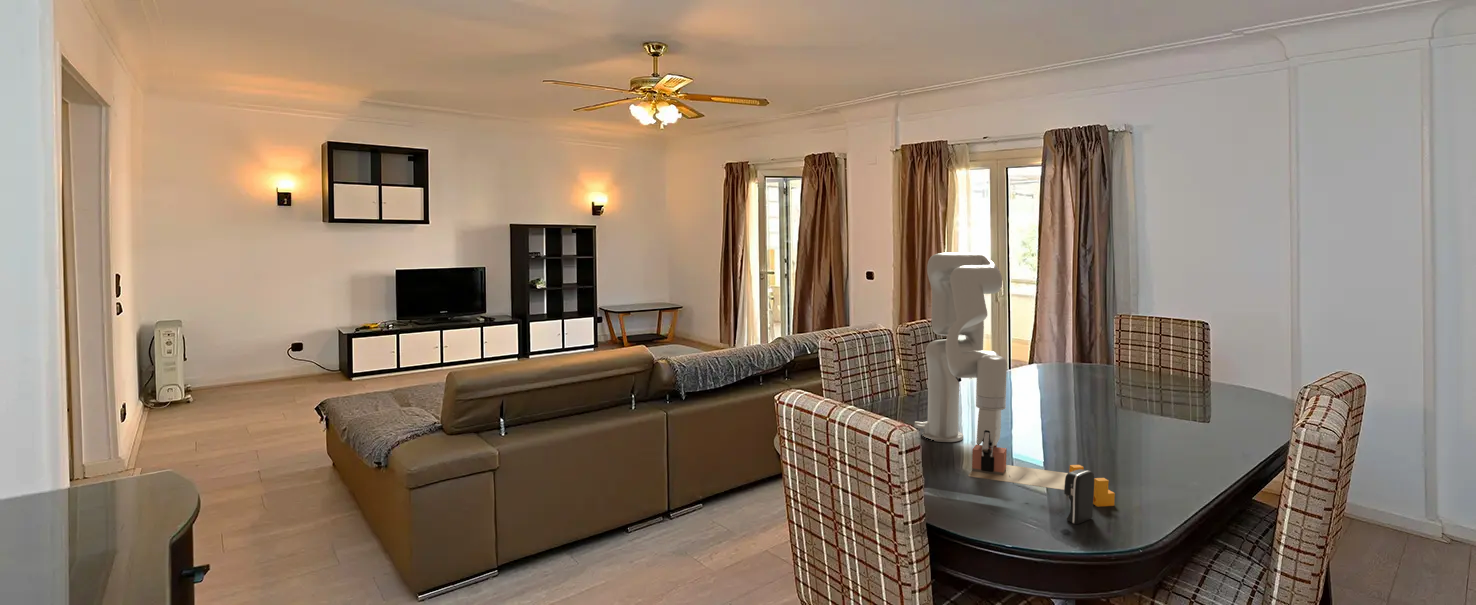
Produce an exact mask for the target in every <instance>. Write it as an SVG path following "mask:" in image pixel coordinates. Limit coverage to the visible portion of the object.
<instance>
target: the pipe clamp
mask: <svg viewBox="0 0 1476 605" xmlns="http://www.w3.org/2000/svg"><path fill="white" fill-rule="evenodd" d="M1078 469H1083V470H1085V469H1084V466H1083V465H1081V464H1070V465H1069V472H1072V471H1075V470H1078ZM1069 472H1068V473H1069ZM1109 483H1110V481H1109V479H1107V478H1105V477H1096V478H1095V477H1094V498H1093V506H1094V505H1095V507H1113V506H1114V507H1115V502H1116V501H1115V499H1116V498H1115V497H1116V493H1115V492H1114V491H1112V490H1111V489H1109Z"/></svg>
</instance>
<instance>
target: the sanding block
mask: <svg viewBox="0 0 1476 605" xmlns="http://www.w3.org/2000/svg"><path fill="white" fill-rule="evenodd" d="M989 449H990V450H991V448H989ZM990 452H991V451H990ZM1007 452H1008V451H1007V448H1006V447H998V446H997V447H994V449H993V457H994V471H993V472H988V471H982V470H981V456H982V444H980V445H978V444H975V445H974V447H973V448H972V451H971V453H972V454H971V457H972V458H971V459H972V460H971V461H972V462H971V464H972V465H971V471H975V472H982V473H989V474H996V475H1004V473H1005V471H1006V465H1007Z"/></svg>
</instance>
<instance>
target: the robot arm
mask: <svg viewBox="0 0 1476 605" xmlns="http://www.w3.org/2000/svg"><path fill="white" fill-rule="evenodd" d="M926 271H927V278H928V282H929V284H930V289H931V316H930V317H931V330H932V332H933V333H934V334H936V335H938V336H946V339H945V338H944V339H935V340H932V341H931V342H929V343H928V344H927V345H926V347H925V359H926V365H927V367H926V368H927V388H928V389H927V421H923V422H922V421H914V428H916V429H917V428H918V430H923V431H922V434H923V435H922V437H923V436H924V437H926V438H929V439H931V440H930V441H932V440H934V441H933V442H939V443H955V442H960V441H962V440H963V439H964V434H963V433H962V432H960V431H959V412H960V411H959V406H960V405H959V404H960V400H959V399H960V395H959V394H960V384H959V381H958V379H972V378H973V379H976V383H975V384H976V385H975V386H976V390H975V391H976V392H975V407H976V408H977V409H978V416H977V427H976V430H977V431H976V441H975V442H976V445H982V456H981V470H982V471H988V472H993V471H994V457H993V449H994V447H998V443H999V441H1000V438H1001V431H1002V430H1001V428H1002V410H1006V409H1007V407H1006V405H1007V403H1006V401H1007V399H1006V398H1007V372H1008V370H1007V365H1008V363H1007V360H1006V358H1005V357H1003V356H1000V355H999V353H998V352H997V351H994V350H984V333H985V332H984V330H985V325H984V324H985V320H986V318H988V308H987V305H986V299H985V295H989V294H991V295H992V294H994V295H995V294H997V293H999V292H1000V291H1001V289H1002V286H1003V277H1002V273H1001V271H1000V269H999V266H997V265H996V263H995V262H994V261H993V260H991V259H990V257H988V255H986V254H985V253H983V252H978V251H977V252H975V251H974V252H973V251H971V252H970V251H969V252H962V251H961V252H959V251H958V252H956V251H955V252H954V251H953V252H951V251H950V252H939V253H935V254H933V255H931V256H930V258H929V259H928V260H927V266H926ZM959 336H965V338H963V339H959ZM957 378H958V379H957ZM924 437H923V438H924ZM926 438H925V439H926ZM989 448H991V450H990V449H989ZM990 451H991V452H990Z"/></svg>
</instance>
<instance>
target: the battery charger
mask: <svg viewBox="0 0 1476 605" xmlns="http://www.w3.org/2000/svg"><path fill="white" fill-rule="evenodd" d="M1067 473H1068V474H1067V475H1066V477H1065V486H1064V490H1063V492H1064V495H1065V496H1066V495H1067V497H1068V500H1069V501H1070V512H1069V514H1068V516H1066V517H1065V519H1066V521H1067V522H1070V523H1072V524H1076V525H1079V524H1081V523H1084V522H1087V521H1089V520H1090V519H1091V520H1092V519H1093V516H1094V515H1093V514H1094V512H1093V511H1094V504H1093V498H1094V478H1095V474H1094V473H1093V472H1092V471H1091V470H1086V469H1084V470H1083V469H1078V470H1075V471H1072V472H1067Z"/></svg>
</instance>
